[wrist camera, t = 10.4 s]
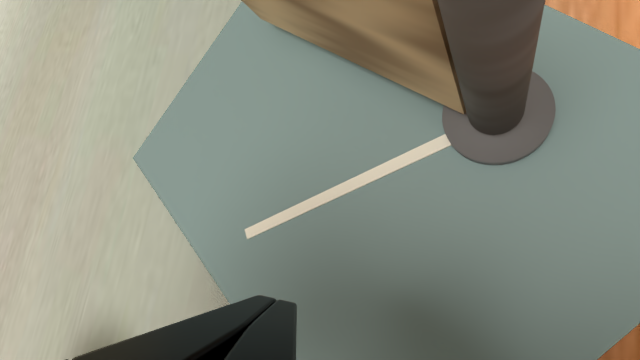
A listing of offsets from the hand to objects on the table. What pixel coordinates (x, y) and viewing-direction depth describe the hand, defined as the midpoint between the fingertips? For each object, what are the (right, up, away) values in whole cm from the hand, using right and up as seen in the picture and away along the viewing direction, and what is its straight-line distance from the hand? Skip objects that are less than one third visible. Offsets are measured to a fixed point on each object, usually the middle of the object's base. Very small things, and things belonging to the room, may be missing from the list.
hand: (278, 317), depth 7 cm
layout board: (+2, +4, +9) cm, 10 cm away
